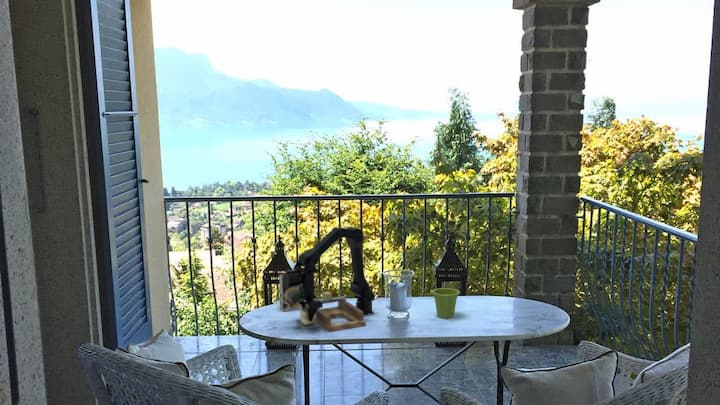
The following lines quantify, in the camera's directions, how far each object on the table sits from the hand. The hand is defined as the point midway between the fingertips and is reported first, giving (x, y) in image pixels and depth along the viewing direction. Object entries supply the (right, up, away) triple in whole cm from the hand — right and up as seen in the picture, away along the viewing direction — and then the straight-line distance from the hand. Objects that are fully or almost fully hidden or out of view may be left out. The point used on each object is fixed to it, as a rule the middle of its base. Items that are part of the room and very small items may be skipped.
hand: (308, 319), depth 249 cm
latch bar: (+7, +5, +14) cm, 17 cm away
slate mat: (0, -3, 0) cm, 2 cm away
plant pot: (+60, -1, +12) cm, 61 cm away
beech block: (0, -1, 0) cm, 1 cm away
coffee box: (-10, 0, +23) cm, 25 cm away
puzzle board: (+11, -2, +7) cm, 13 cm away
